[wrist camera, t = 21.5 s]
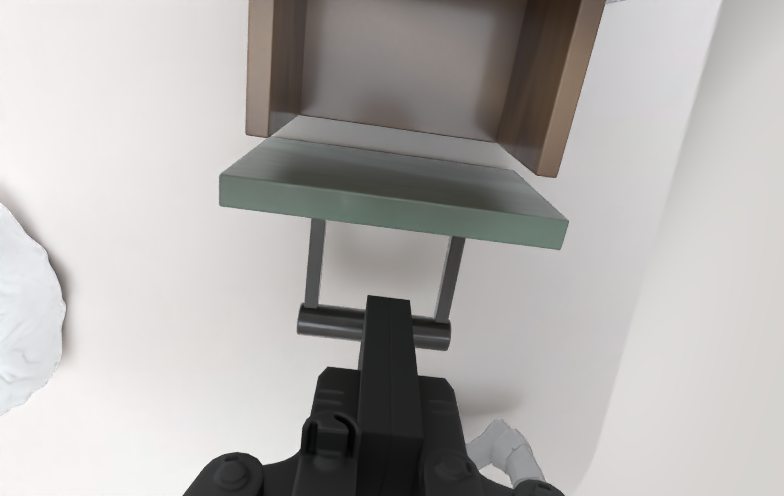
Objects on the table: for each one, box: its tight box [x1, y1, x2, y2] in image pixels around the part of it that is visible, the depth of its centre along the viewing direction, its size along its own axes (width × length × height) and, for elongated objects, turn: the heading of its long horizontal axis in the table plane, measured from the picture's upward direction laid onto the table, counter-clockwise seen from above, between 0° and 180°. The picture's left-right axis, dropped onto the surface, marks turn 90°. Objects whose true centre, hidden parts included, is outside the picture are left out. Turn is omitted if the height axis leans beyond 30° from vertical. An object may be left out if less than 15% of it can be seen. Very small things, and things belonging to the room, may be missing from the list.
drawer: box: [219, 0, 606, 351], centre depth 20 cm, size 21×13×8 cm, turn 172°
